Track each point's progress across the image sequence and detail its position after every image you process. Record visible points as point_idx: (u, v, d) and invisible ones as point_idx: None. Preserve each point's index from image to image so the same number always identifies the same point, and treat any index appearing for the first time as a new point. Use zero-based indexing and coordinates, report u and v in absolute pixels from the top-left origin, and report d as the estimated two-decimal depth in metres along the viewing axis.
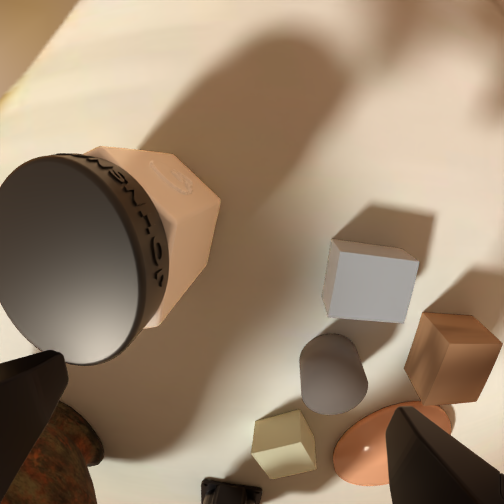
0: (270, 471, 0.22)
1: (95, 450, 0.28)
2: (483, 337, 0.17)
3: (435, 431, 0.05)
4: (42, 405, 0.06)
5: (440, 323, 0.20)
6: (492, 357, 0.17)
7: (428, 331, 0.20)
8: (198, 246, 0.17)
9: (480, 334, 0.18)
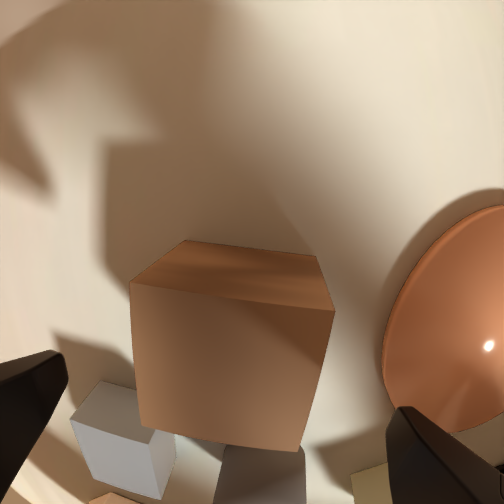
0: None
1: None
2: None
3: (435, 431, 0.05)
4: (42, 405, 0.06)
5: None
6: (169, 308, 0.08)
7: None
8: None
9: None
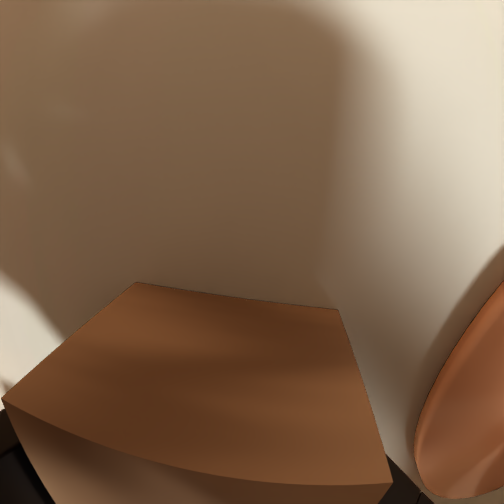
0: None
1: None
2: None
3: None
4: None
5: None
6: (69, 454, 0.03)
7: None
8: None
9: None
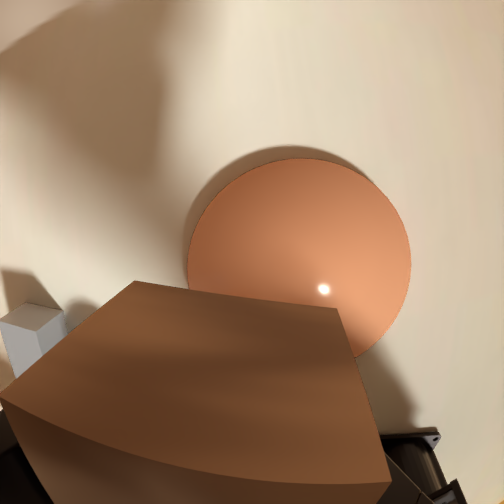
0: None
1: None
2: None
3: None
4: None
5: None
6: (66, 451, 0.03)
7: None
8: None
9: None
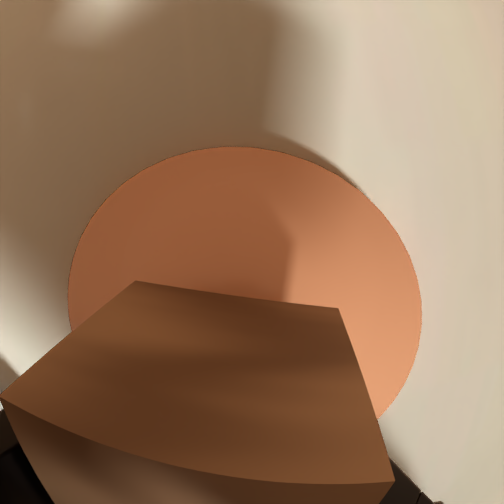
0: None
1: None
2: None
3: None
4: None
5: None
6: (67, 452, 0.03)
7: None
8: None
9: None
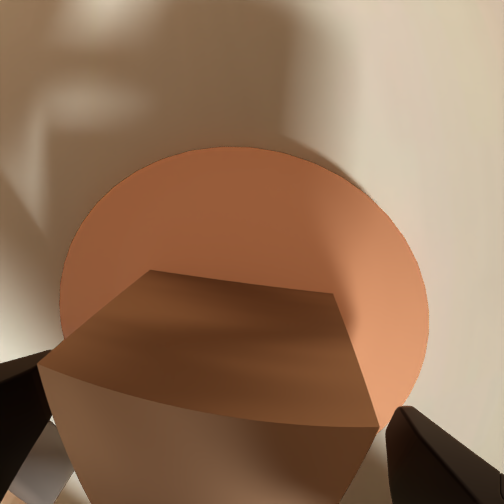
0: None
1: None
2: None
3: (435, 431, 0.05)
4: (42, 405, 0.06)
5: None
6: (98, 410, 0.04)
7: None
8: None
9: None
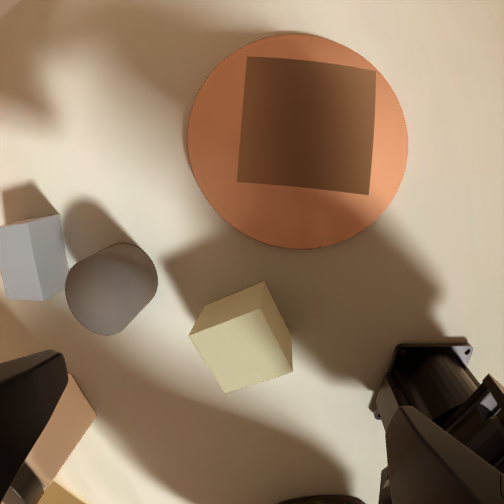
0: (267, 372, 0.16)
1: None
2: None
3: (435, 432, 0.05)
4: (42, 405, 0.06)
5: None
6: (274, 69, 0.11)
7: None
8: None
9: None
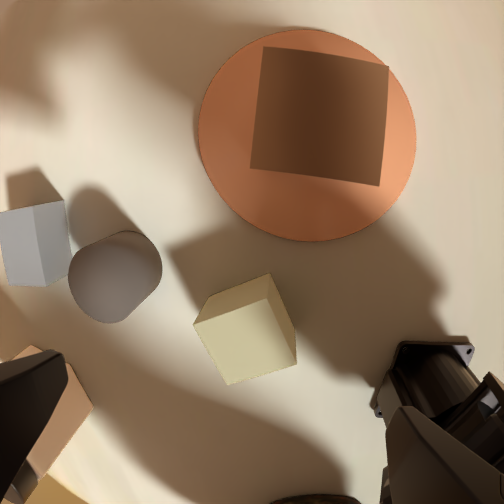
0: (271, 364, 0.16)
1: (324, 503, 0.23)
2: None
3: (435, 432, 0.05)
4: (42, 405, 0.06)
5: None
6: (290, 60, 0.11)
7: None
8: None
9: None
